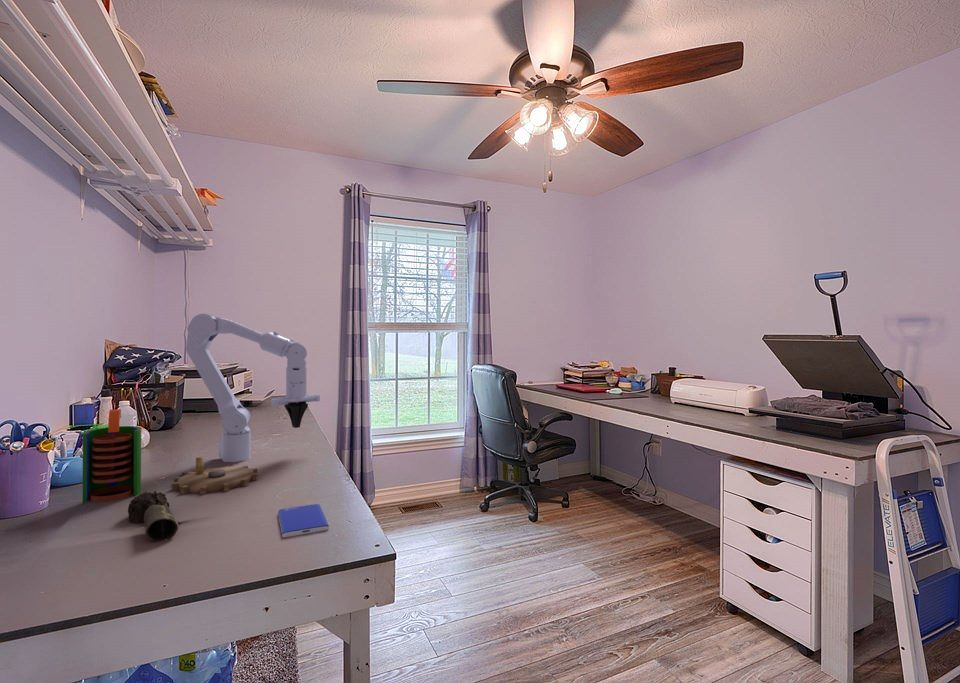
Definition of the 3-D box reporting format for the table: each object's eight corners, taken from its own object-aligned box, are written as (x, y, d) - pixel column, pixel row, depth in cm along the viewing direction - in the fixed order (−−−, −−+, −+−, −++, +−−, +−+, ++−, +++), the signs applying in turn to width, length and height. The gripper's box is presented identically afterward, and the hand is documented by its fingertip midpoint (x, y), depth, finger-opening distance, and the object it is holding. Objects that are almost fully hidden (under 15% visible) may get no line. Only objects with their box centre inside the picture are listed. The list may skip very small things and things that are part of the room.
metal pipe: (178, 538, 84) (178, 508, 83) (132, 549, 79) (131, 517, 79) (166, 510, 97) (166, 483, 97) (126, 518, 93) (126, 490, 93)
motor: (82, 511, 96) (82, 415, 95) (82, 499, 102) (82, 410, 102) (142, 500, 102) (143, 411, 102) (138, 490, 109) (139, 406, 109)
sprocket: (274, 474, 118) (275, 453, 118) (213, 498, 101) (214, 473, 101) (219, 468, 124) (219, 448, 124) (152, 489, 106) (152, 465, 106)
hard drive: (278, 509, 95) (282, 532, 84) (319, 503, 99) (328, 524, 88) (278, 516, 95) (282, 540, 84) (319, 510, 99) (328, 532, 88)
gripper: (279, 385, 131) (278, 432, 131) (325, 381, 142) (324, 425, 142) (267, 383, 135) (267, 429, 135) (313, 380, 146) (313, 422, 146)
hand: (296, 427), depth 139 cm, fingers closed
